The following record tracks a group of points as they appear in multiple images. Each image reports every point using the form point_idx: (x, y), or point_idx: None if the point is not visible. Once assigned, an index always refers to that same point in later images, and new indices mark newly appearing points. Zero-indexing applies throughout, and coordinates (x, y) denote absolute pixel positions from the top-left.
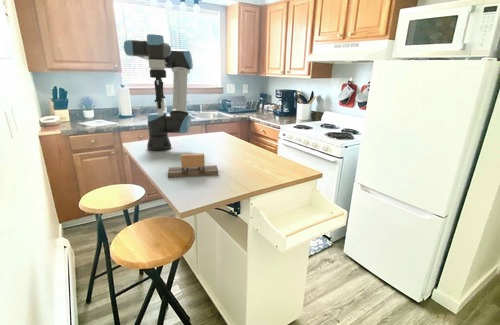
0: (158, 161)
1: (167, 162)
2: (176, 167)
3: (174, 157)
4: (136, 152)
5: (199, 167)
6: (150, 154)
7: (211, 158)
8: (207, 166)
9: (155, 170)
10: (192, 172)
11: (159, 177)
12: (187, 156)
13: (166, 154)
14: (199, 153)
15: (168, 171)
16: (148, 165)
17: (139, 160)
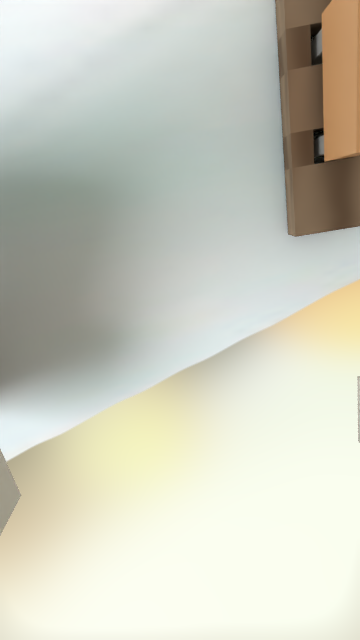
0: (130, 318)
1: (142, 274)
2: (298, 196)
3: (57, 257)
4: (9, 442)
5: (310, 57)
6: (28, 380)
7: (43, 16)
8: (298, 2)
9: (255, 300)
10: None
11: (344, 261)
12: None
13: (13, 309)
14: (357, 7)
15: (353, 224)
16: (188, 345)
17: (122, 398)
